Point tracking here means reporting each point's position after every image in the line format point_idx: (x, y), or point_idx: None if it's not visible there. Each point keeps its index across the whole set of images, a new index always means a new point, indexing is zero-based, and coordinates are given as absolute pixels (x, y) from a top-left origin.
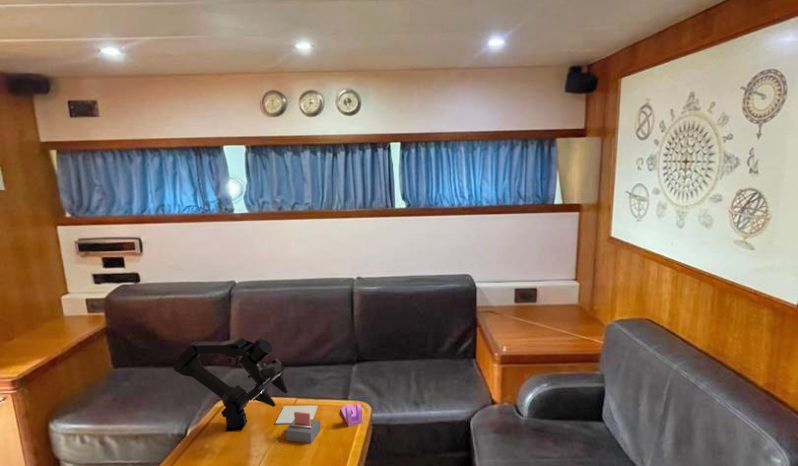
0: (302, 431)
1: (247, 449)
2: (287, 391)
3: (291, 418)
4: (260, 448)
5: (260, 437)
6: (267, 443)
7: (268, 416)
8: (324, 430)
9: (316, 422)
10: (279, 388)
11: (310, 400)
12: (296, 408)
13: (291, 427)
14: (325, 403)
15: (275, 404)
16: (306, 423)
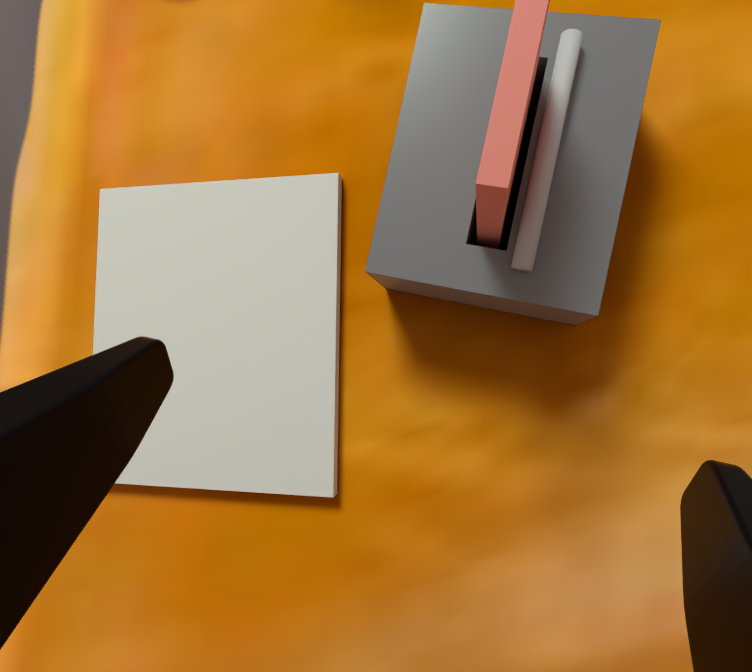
0: (628, 118)
1: None
2: (137, 337)
3: (272, 363)
4: None
5: (533, 582)
6: (629, 489)
7: (216, 588)
8: None
9: (461, 24)
10: (59, 540)
11: (17, 280)
12: None
13: (550, 262)
14: (66, 144)
15: (721, 466)
16: (532, 86)
